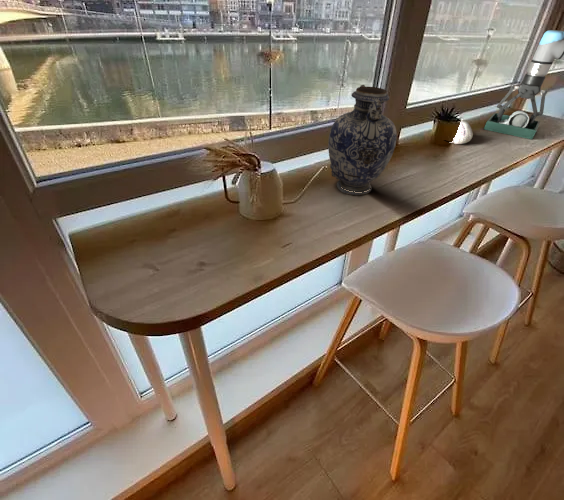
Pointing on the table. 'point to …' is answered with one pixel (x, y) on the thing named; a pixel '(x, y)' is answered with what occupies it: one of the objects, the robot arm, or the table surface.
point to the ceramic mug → (517, 119)
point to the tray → (511, 127)
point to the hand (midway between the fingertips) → (511, 127)
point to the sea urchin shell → (463, 133)
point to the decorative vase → (361, 142)
